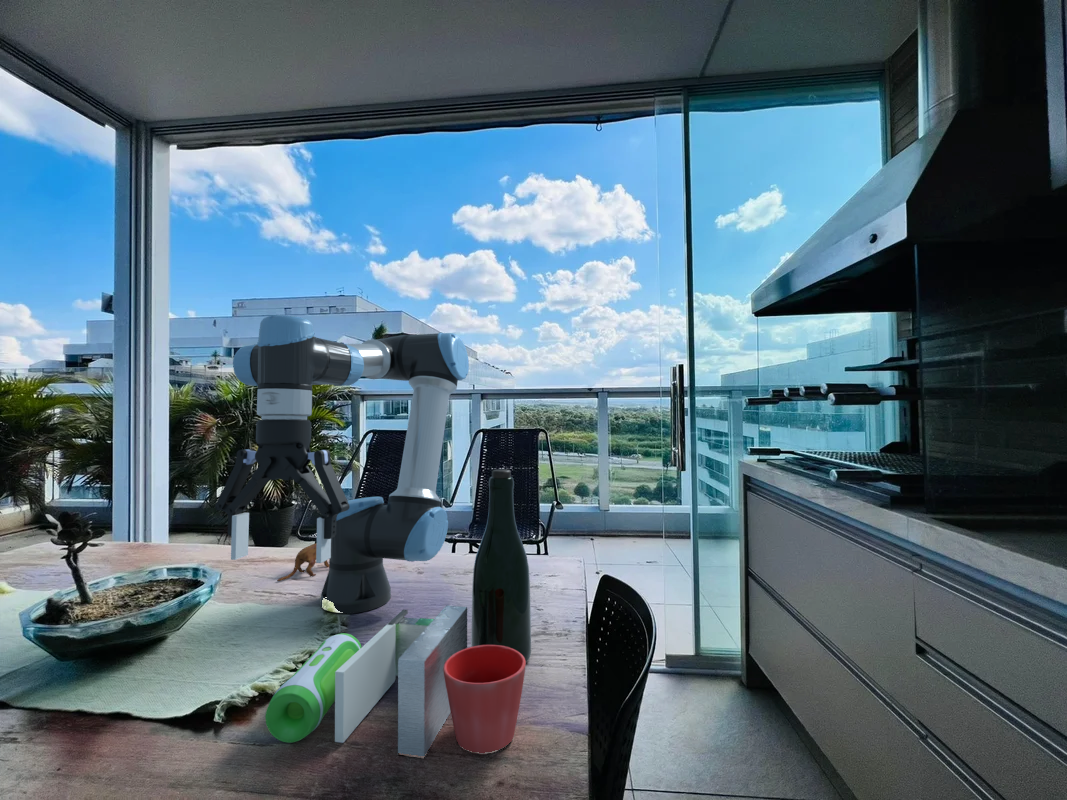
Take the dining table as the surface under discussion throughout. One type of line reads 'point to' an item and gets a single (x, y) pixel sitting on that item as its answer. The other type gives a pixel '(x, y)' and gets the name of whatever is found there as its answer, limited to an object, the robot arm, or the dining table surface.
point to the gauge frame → (425, 675)
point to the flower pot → (484, 695)
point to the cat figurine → (305, 556)
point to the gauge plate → (364, 679)
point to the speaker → (309, 690)
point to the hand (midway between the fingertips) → (281, 559)
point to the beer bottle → (501, 576)
